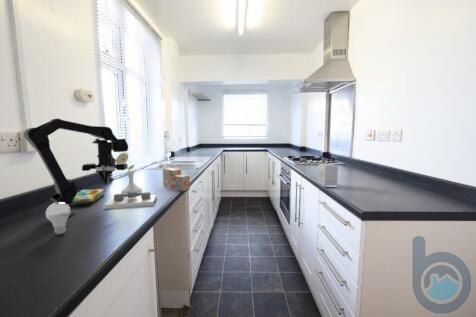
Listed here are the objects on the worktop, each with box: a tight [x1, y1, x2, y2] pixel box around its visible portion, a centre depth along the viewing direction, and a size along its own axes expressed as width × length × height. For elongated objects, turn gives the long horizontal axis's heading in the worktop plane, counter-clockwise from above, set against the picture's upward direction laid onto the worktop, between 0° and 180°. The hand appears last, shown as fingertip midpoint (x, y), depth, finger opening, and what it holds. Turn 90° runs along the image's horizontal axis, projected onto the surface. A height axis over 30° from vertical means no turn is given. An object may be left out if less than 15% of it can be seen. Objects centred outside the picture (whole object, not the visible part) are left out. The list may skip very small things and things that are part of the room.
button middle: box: [127, 191, 138, 198], centre depth 116 cm, size 4×4×2 cm
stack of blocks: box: [162, 167, 191, 192], centre depth 146 cm, size 21×6×12 cm, turn 49°
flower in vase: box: [115, 152, 143, 196], centre depth 130 cm, size 13×11×25 cm
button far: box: [140, 191, 151, 199], centre depth 117 cm, size 4×4×2 cm
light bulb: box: [45, 202, 72, 236], centre depth 80 cm, size 7×7×12 cm
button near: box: [113, 193, 125, 201], centre depth 114 cm, size 4×4×2 cm
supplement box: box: [318, 163, 339, 186], centre depth 149 cm, size 9×9×15 cm
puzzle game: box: [71, 188, 107, 206], centre depth 120 cm, size 12×5×20 cm
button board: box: [104, 194, 157, 210], centre depth 115 cm, size 12×22×2 cm, turn 103°
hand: (106, 184), depth 110 cm, fingers closed
